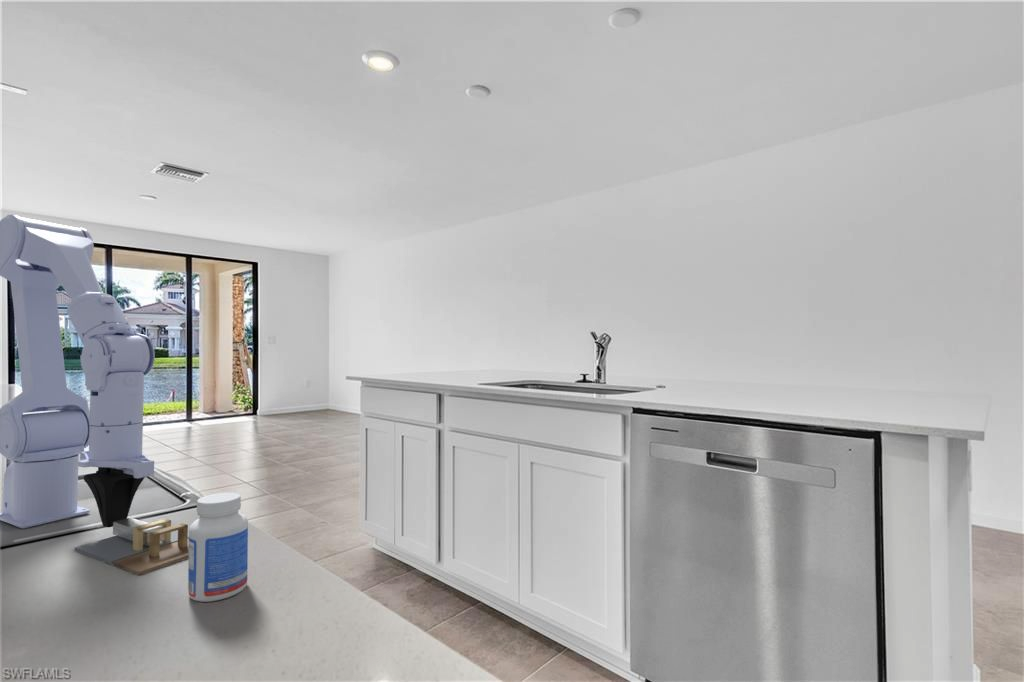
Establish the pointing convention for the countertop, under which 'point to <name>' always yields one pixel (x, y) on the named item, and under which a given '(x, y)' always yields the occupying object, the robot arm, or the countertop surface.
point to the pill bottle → (218, 548)
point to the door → (126, 544)
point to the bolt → (126, 529)
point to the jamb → (158, 552)
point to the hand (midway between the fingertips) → (114, 524)
